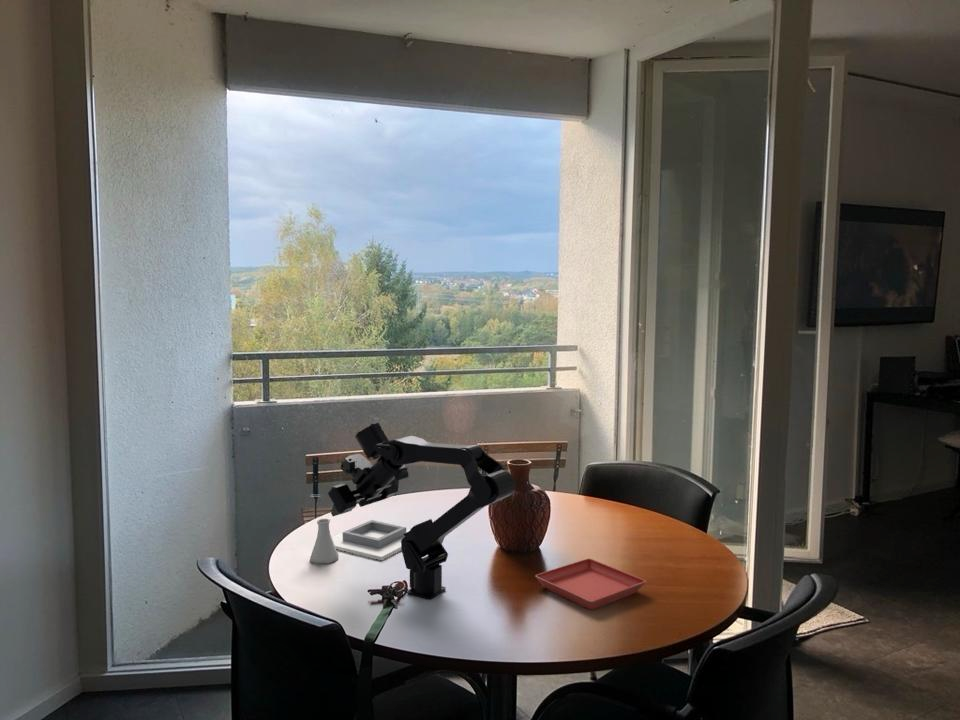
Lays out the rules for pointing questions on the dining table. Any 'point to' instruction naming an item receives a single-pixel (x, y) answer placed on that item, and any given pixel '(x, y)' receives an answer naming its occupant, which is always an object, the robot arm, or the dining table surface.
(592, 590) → the plant saucer
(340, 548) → the collar board
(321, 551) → the flask
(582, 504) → the dining table surface
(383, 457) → the robot arm
